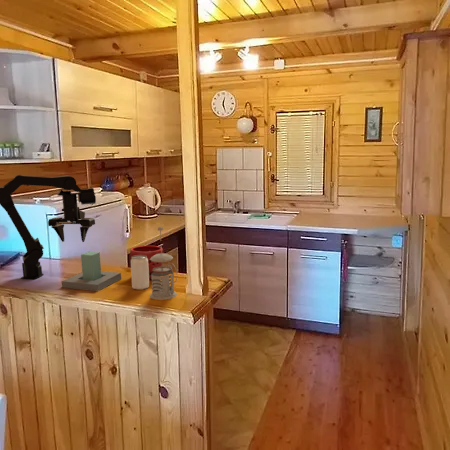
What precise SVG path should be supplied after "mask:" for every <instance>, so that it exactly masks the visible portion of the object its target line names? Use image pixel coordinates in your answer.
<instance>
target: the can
mask: <svg viewBox="0 0 450 450" xmlns="http://www.w3.org/2000/svg"><path fill="white" fill-rule="evenodd" d="M130 272H131V287H132V289H134V290H137V291H142V290H146V289H148V288H149V287H150V279H149V269H148V259H147V256H146V255H135V256H132V259H131V258H130Z"/></svg>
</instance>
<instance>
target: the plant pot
mask: <svg viewBox="0 0 450 450" xmlns="http://www.w3.org/2000/svg"><path fill="white" fill-rule="evenodd" d="M161 247H162V246H157V245H139V246H133V247H131V248H130V252H129V255H130V260H131V259H132V256H135V255H146V256H147V259H148V269H149V280H152V277H151V274H152V273H153V271H152V269H153V268H155V267H162V266H163V262H153V261H151V260H150V258H151V257H153V256H154V255H156V254H160V253H161ZM162 253H164V249H163V247H162Z"/></svg>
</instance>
